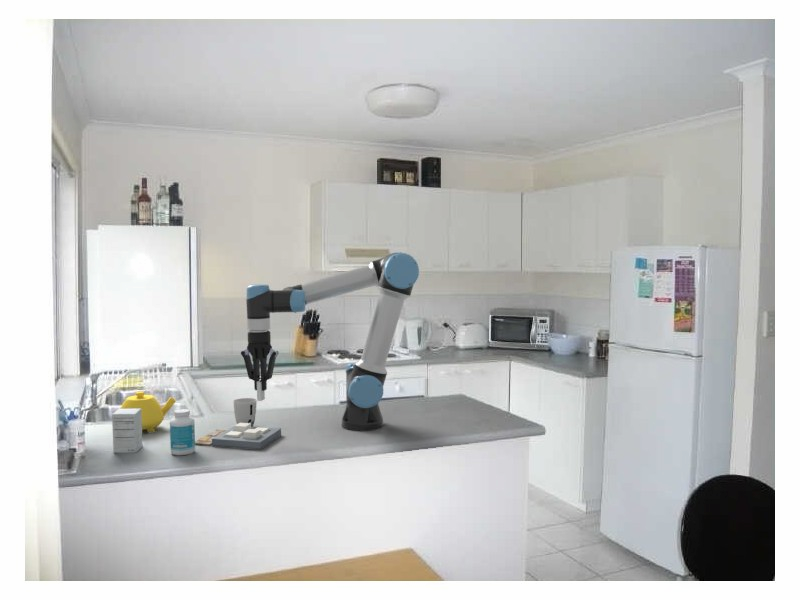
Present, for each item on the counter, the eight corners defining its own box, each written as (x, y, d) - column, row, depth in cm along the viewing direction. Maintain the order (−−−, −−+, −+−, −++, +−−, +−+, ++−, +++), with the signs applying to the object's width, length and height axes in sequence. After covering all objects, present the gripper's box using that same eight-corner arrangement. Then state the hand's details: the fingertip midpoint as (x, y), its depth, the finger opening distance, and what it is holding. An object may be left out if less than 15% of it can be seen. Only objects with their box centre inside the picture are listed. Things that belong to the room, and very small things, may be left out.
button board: (281, 435, 240) (281, 428, 239) (260, 449, 223) (260, 442, 223) (235, 432, 243) (235, 425, 243) (212, 446, 227) (211, 438, 227)
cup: (251, 431, 245) (250, 403, 244) (230, 430, 247) (229, 402, 246) (260, 425, 253) (260, 398, 252) (239, 424, 254) (239, 397, 254)
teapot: (175, 421, 258) (174, 385, 257) (178, 432, 244) (177, 393, 243) (117, 426, 251) (116, 389, 250) (117, 438, 237) (115, 398, 236)
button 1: (242, 439, 232) (242, 431, 232) (236, 443, 228) (236, 435, 228) (231, 438, 233) (230, 431, 233) (225, 442, 229) (225, 434, 229)
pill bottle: (198, 453, 219) (197, 411, 218) (174, 457, 215) (173, 414, 214) (191, 447, 225) (190, 406, 224) (167, 451, 221) (166, 409, 220)
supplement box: (119, 446, 227) (118, 408, 226) (143, 445, 227) (142, 407, 226) (112, 453, 219) (111, 413, 218) (136, 452, 220) (135, 413, 219)
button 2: (251, 430, 239) (251, 423, 238) (245, 434, 235) (245, 426, 234) (239, 430, 240) (239, 422, 239) (234, 433, 236) (234, 425, 235)
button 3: (260, 437, 231) (260, 429, 231) (255, 440, 227) (255, 432, 226) (249, 436, 232) (249, 428, 231) (243, 439, 228) (243, 432, 227)
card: (233, 432, 244) (233, 430, 244) (209, 446, 227) (209, 443, 227) (217, 431, 245) (217, 429, 245) (192, 444, 229) (192, 442, 229)
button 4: (269, 435, 237) (268, 428, 237) (263, 438, 233) (263, 431, 233) (257, 434, 238) (257, 427, 238) (252, 438, 234) (252, 430, 234)
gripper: (281, 329, 235) (283, 398, 237) (246, 328, 238) (248, 396, 240) (272, 332, 228) (274, 403, 230) (235, 331, 231) (238, 401, 233)
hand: (260, 399), depth 235 cm, fingers closed
